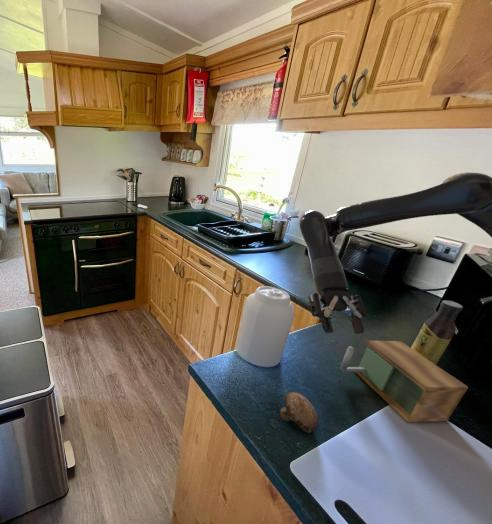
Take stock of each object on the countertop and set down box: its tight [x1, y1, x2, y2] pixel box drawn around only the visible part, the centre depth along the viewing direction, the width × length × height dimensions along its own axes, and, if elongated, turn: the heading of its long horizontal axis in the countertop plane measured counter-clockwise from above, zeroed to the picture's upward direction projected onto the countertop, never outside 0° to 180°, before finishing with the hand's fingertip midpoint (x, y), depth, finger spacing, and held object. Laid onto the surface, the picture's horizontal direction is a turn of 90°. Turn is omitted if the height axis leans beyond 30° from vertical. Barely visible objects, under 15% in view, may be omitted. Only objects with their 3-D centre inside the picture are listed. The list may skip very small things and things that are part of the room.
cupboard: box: [355, 340, 469, 423], centre depth 70 cm, size 10×16×10 cm, turn 4°
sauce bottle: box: [410, 300, 464, 365], centre depth 81 cm, size 6×6×20 cm
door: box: [339, 346, 395, 391], centre depth 73 cm, size 7×8×8 cm
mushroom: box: [279, 391, 319, 434], centre depth 62 cm, size 8×8×6 cm
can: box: [234, 285, 295, 368], centre depth 80 cm, size 12×12×20 cm
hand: (344, 332), depth 76 cm, fingers open, 8 cm apart
